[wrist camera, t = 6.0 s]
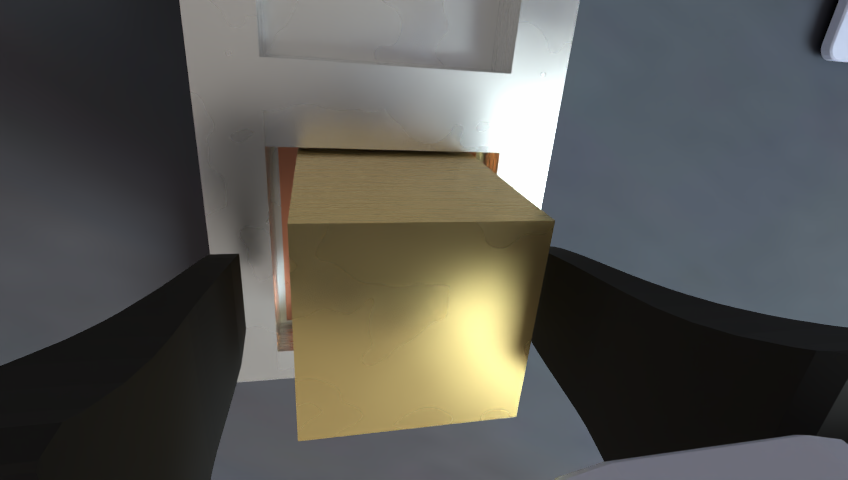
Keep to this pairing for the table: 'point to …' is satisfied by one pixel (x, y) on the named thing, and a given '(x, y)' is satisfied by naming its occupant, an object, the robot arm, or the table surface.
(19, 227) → the table surface
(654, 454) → the robot arm
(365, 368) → the brass block
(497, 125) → the rail
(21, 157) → the table surface
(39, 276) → the table surface
